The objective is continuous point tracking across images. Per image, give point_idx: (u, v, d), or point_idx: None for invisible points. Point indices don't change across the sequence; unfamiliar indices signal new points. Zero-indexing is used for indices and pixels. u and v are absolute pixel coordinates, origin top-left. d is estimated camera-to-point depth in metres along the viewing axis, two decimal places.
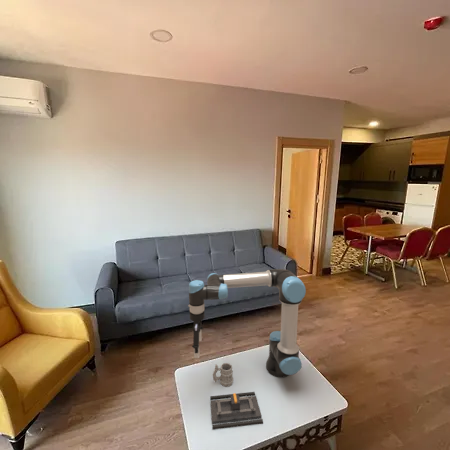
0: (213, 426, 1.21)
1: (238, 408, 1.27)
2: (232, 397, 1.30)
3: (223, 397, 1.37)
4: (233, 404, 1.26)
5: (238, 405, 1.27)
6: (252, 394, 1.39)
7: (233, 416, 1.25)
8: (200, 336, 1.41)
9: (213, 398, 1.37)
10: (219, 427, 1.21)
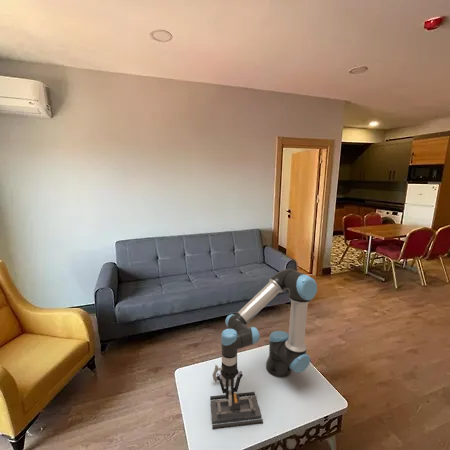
0: (213, 426, 1.21)
1: (238, 408, 1.27)
2: None
3: (223, 397, 1.37)
4: (233, 404, 1.26)
5: (238, 405, 1.27)
6: (252, 394, 1.39)
7: (233, 416, 1.25)
8: None
9: (213, 398, 1.37)
10: (219, 427, 1.21)
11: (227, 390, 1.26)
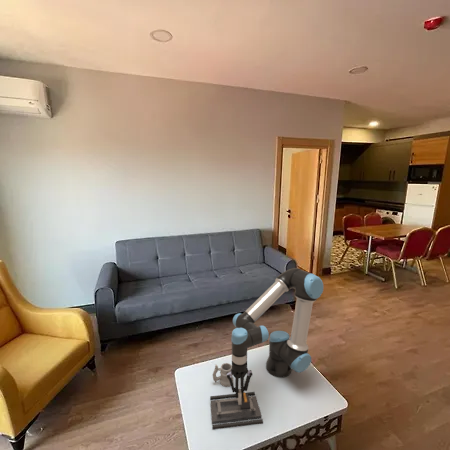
0: (213, 426, 1.21)
1: (248, 407, 1.28)
2: None
3: (223, 397, 1.37)
4: (243, 403, 1.27)
5: (248, 404, 1.27)
6: (252, 394, 1.39)
7: (233, 416, 1.25)
8: None
9: (213, 398, 1.37)
10: (219, 427, 1.21)
11: (237, 389, 1.27)
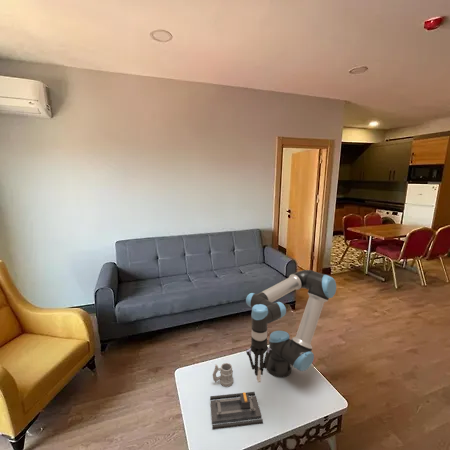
0: (213, 426, 1.21)
1: (248, 407, 1.28)
2: (242, 396, 1.31)
3: (223, 397, 1.37)
4: (243, 403, 1.27)
5: (248, 404, 1.27)
6: (252, 394, 1.39)
7: (233, 416, 1.25)
8: None
9: (213, 398, 1.37)
10: (219, 427, 1.21)
11: (256, 366, 1.26)
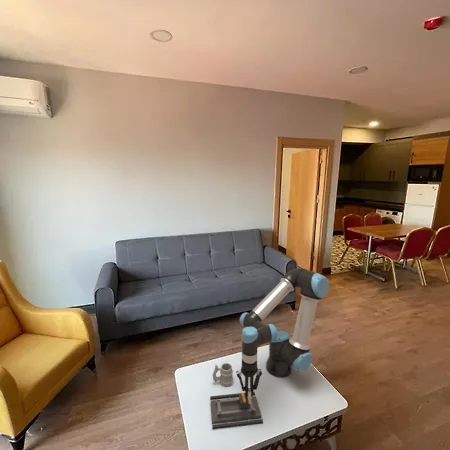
0: (213, 426, 1.21)
1: (247, 407, 1.28)
2: (240, 396, 1.30)
3: (223, 397, 1.37)
4: (242, 403, 1.27)
5: (247, 404, 1.27)
6: None
7: (233, 416, 1.25)
8: None
9: (213, 398, 1.37)
10: (219, 427, 1.21)
11: (247, 388, 1.27)
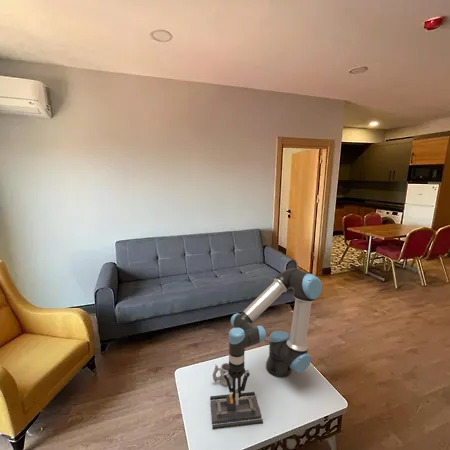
0: (213, 426, 1.21)
1: (234, 408, 1.27)
2: (228, 397, 1.30)
3: (223, 397, 1.37)
4: (229, 404, 1.26)
5: (234, 405, 1.27)
6: (252, 394, 1.39)
7: (233, 416, 1.25)
8: None
9: (213, 398, 1.37)
10: (219, 427, 1.21)
11: (234, 389, 1.27)
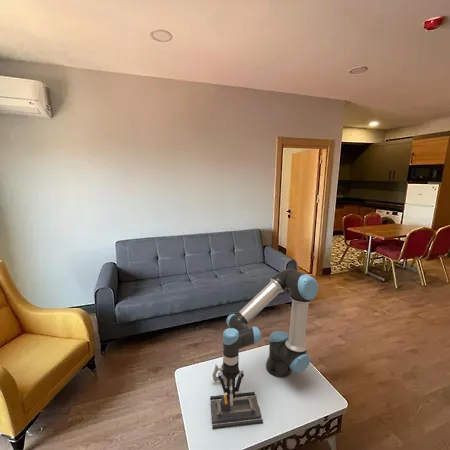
0: (213, 426, 1.21)
1: (228, 409, 1.27)
2: (222, 398, 1.29)
3: None
4: (223, 405, 1.26)
5: (228, 406, 1.26)
6: (252, 394, 1.39)
7: (233, 416, 1.25)
8: None
9: (213, 398, 1.37)
10: (219, 427, 1.21)
11: (228, 390, 1.26)
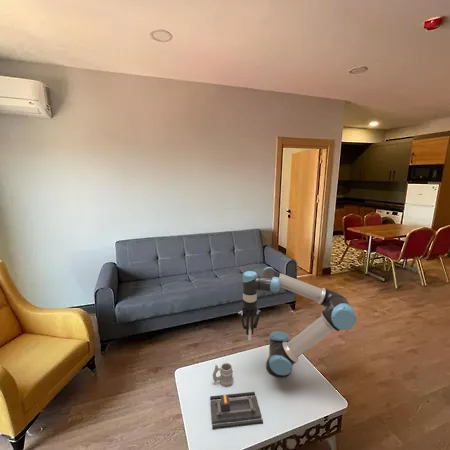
0: (213, 426, 1.21)
1: (228, 409, 1.27)
2: (222, 398, 1.29)
3: None
4: (223, 405, 1.26)
5: (228, 406, 1.26)
6: (252, 394, 1.39)
7: (233, 416, 1.25)
8: None
9: (213, 398, 1.37)
10: (219, 427, 1.21)
11: (247, 326, 1.42)
